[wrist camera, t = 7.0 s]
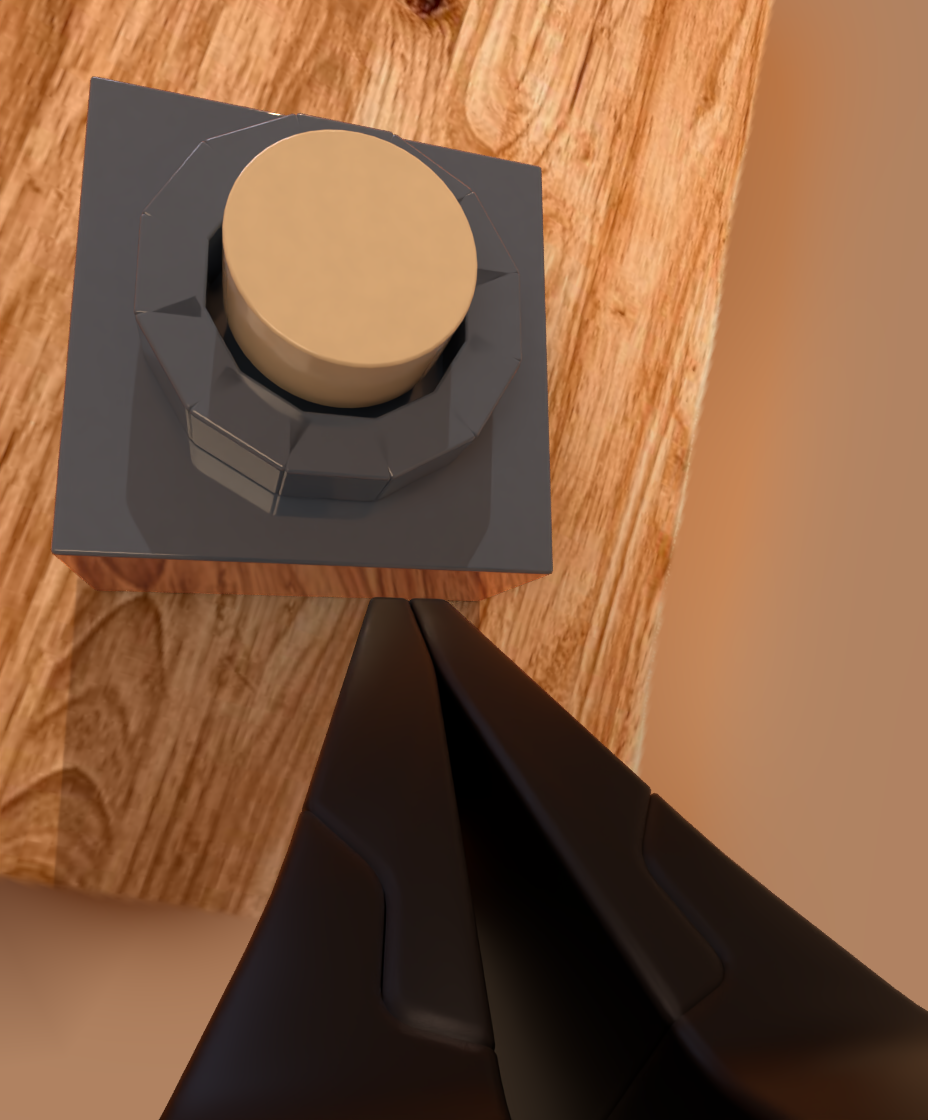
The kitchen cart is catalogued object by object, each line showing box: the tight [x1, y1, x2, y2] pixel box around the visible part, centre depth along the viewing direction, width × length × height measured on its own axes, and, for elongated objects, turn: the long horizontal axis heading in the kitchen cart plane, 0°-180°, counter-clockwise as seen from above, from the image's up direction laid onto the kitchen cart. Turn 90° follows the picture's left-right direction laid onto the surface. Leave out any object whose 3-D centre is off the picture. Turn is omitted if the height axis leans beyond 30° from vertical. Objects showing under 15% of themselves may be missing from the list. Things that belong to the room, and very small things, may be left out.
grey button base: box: [51, 77, 553, 601], centre depth 18 cm, size 10×10×7 cm
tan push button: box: [222, 130, 478, 408], centre depth 14 cm, size 4×4×2 cm
